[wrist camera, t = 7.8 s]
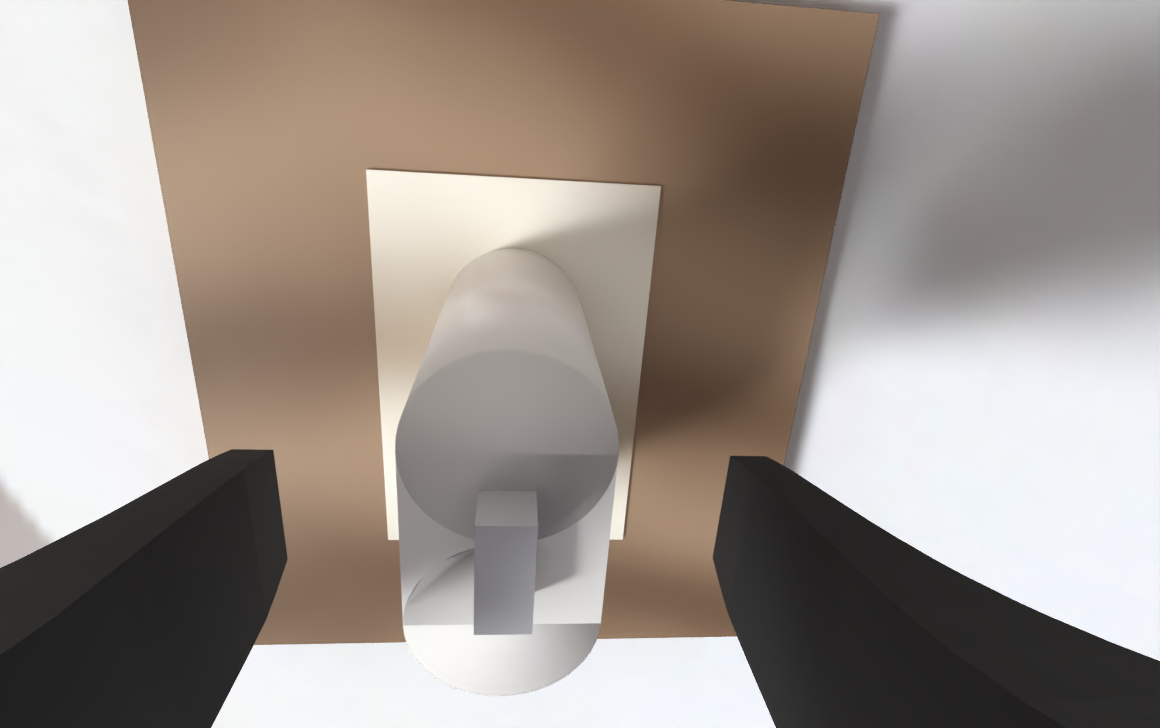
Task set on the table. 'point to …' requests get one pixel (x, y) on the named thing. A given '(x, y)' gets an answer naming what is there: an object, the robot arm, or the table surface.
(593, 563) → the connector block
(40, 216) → the table surface
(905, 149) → the table surface
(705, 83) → the walnut board
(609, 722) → the table surface
